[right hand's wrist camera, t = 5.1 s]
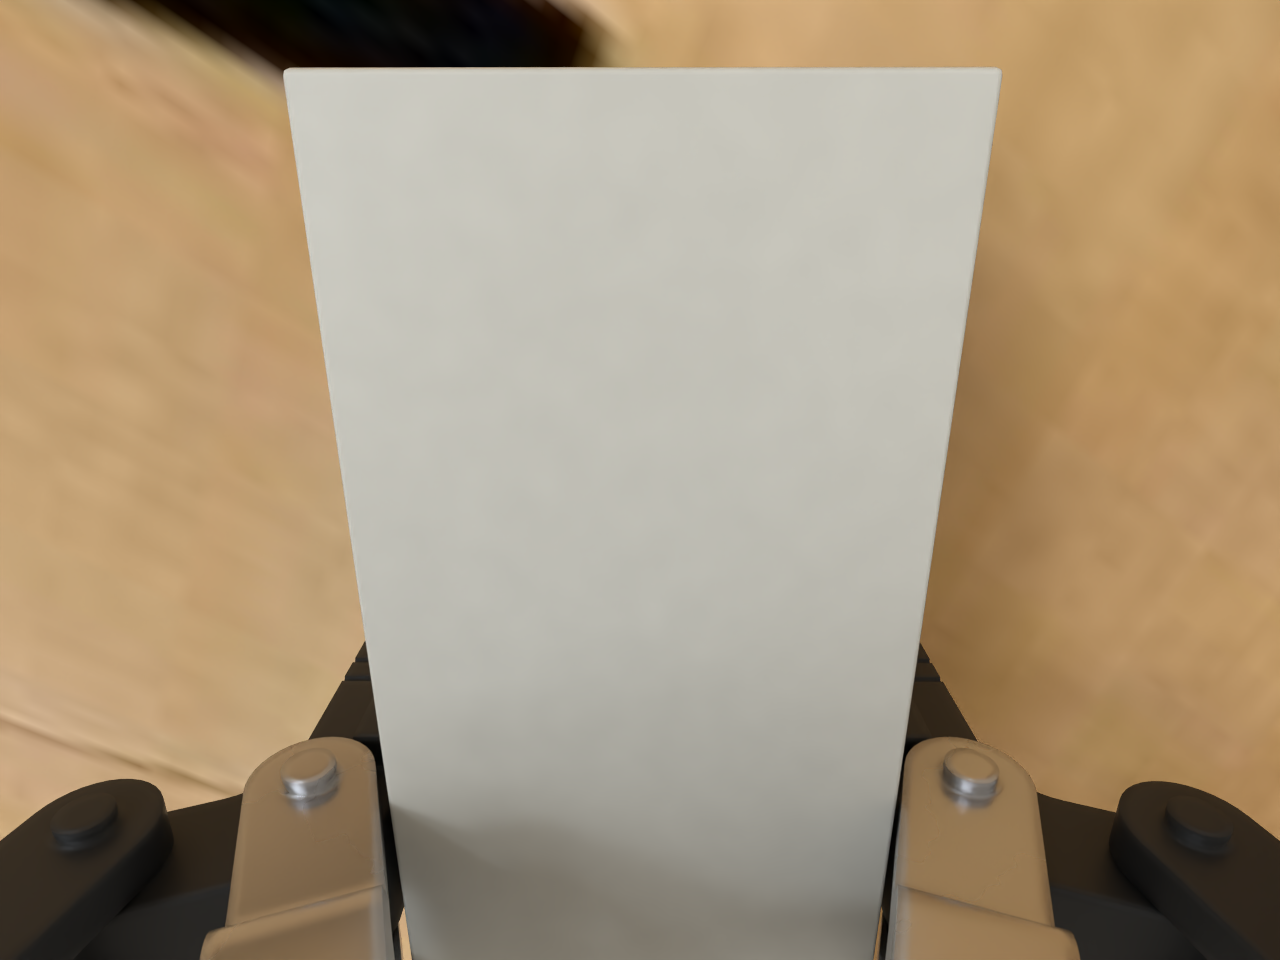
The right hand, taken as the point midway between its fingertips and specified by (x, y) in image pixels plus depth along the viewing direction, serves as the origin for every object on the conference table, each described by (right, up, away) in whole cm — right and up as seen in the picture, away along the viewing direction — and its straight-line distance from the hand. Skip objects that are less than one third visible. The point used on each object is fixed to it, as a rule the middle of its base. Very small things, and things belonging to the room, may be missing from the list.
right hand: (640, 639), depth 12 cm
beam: (0, -23, +11) cm, 25 cm away
